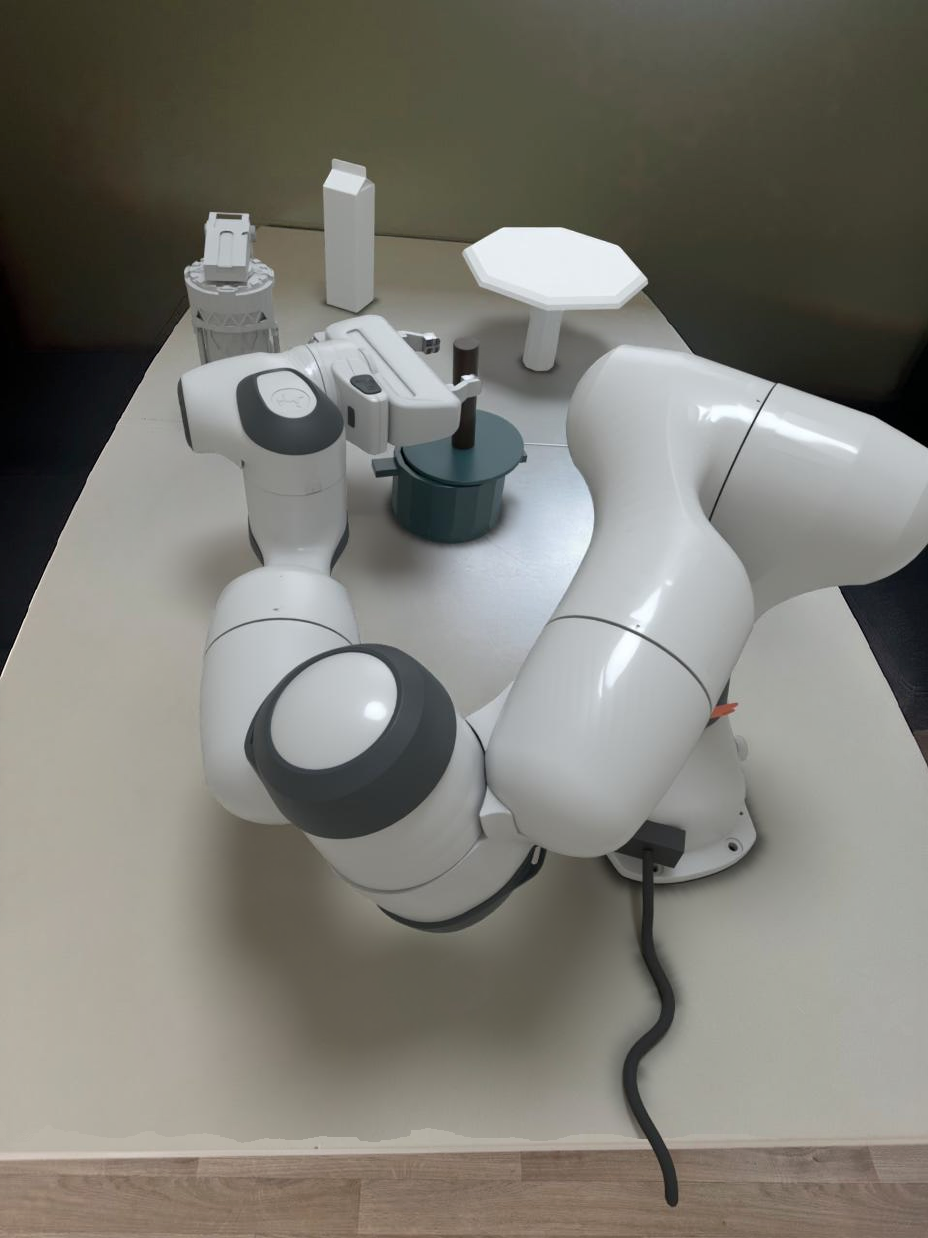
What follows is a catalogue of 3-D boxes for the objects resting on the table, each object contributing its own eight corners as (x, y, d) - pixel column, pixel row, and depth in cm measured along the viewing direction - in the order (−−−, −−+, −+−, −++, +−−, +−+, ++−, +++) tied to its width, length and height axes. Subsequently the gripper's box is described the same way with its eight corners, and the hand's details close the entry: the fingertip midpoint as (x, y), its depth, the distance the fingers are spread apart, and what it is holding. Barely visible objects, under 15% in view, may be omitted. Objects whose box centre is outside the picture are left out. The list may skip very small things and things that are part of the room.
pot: (533, 533, 100) (544, 478, 94) (385, 552, 95) (386, 496, 89) (499, 468, 109) (507, 414, 103) (361, 483, 104) (361, 427, 98)
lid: (467, 507, 90) (472, 397, 79) (377, 452, 96) (369, 343, 85) (547, 450, 97) (561, 342, 86) (458, 402, 103) (461, 296, 93)
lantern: (285, 444, 108) (269, 257, 90) (205, 444, 106) (173, 254, 88) (286, 393, 117) (273, 213, 99) (213, 392, 115) (185, 209, 97)
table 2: (621, 424, 119) (650, 317, 107) (437, 393, 121) (446, 284, 108) (624, 336, 139) (650, 238, 127) (466, 311, 140) (476, 210, 128)
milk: (343, 291, 141) (341, 152, 125) (374, 300, 139) (375, 161, 123) (326, 304, 137) (321, 162, 121) (357, 313, 135) (356, 171, 119)
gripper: (303, 363, 90) (413, 343, 95) (379, 465, 78) (499, 436, 84) (300, 309, 85) (416, 292, 91) (380, 409, 74) (507, 382, 79)
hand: (457, 362), depth 87 cm, fingers open, 8 cm apart
